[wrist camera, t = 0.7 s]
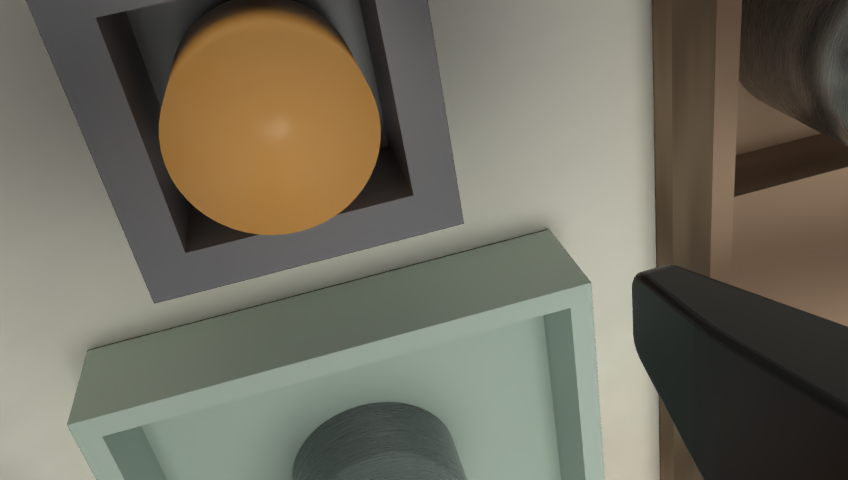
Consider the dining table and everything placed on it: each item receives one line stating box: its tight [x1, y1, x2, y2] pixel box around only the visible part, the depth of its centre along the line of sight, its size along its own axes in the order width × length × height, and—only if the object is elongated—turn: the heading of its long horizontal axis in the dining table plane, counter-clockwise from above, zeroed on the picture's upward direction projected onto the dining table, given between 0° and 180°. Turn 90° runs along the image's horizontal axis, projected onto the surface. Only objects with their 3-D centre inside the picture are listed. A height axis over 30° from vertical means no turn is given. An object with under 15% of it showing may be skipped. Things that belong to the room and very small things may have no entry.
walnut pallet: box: [652, 0, 848, 480], centre depth 22 cm, size 21×8×3 cm, turn 10°
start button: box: [159, 0, 381, 235], centre depth 15 cm, size 4×4×3 cm
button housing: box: [26, 0, 464, 304], centre depth 17 cm, size 7×7×4 cm
